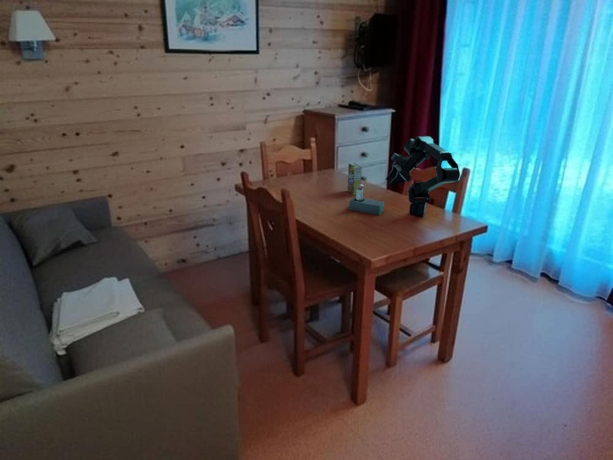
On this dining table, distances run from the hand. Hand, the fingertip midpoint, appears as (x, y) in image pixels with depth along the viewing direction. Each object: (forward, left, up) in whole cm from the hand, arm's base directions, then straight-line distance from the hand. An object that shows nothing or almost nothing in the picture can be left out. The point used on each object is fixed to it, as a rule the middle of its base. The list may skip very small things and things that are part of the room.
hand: (387, 182), depth 214 cm
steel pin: (+12, +5, -14) cm, 19 cm away
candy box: (+23, -18, -14) cm, 32 cm away
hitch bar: (+8, +5, -14) cm, 17 cm away
